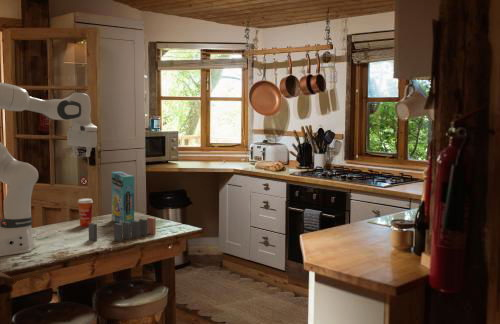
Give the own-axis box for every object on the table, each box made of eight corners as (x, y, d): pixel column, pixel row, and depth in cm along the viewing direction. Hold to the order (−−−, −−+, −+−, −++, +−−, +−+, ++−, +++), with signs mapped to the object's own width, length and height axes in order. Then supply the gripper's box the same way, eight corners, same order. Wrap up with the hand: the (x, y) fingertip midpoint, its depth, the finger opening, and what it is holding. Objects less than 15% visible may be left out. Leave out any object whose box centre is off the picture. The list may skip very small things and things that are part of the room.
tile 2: (119, 241, 260) (119, 225, 259) (114, 240, 263) (114, 223, 262) (122, 241, 262) (122, 224, 261) (117, 239, 264) (116, 223, 263)
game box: (111, 220, 306) (110, 171, 303) (122, 219, 310) (121, 171, 307) (123, 227, 289) (122, 176, 286) (134, 226, 292) (134, 175, 289)
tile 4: (136, 237, 268) (136, 221, 267) (131, 236, 271) (131, 220, 270) (139, 237, 269) (139, 221, 268) (133, 235, 272) (133, 219, 271)
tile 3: (128, 239, 264) (128, 223, 263) (122, 238, 267) (122, 221, 266) (131, 239, 265) (131, 222, 264) (125, 237, 268) (125, 221, 267)
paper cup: (75, 226, 290) (74, 200, 288) (84, 223, 297) (83, 197, 296) (87, 227, 287) (87, 201, 286) (96, 224, 294) (96, 199, 293)
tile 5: (145, 236, 272) (145, 220, 271) (139, 234, 274) (139, 218, 274) (147, 235, 273) (147, 219, 272) (142, 234, 276) (141, 218, 275)
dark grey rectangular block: (94, 241, 260) (93, 224, 259) (88, 239, 263) (88, 223, 262) (97, 240, 261) (96, 224, 260) (91, 239, 264) (91, 222, 263)
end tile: (153, 234, 275) (153, 218, 275) (147, 233, 278) (147, 217, 277) (155, 233, 277) (155, 218, 276) (149, 232, 280) (149, 216, 279)
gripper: (63, 126, 266) (63, 154, 267) (87, 127, 253) (88, 158, 254) (75, 125, 270) (75, 153, 272) (99, 127, 257) (99, 157, 259)
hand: (81, 155), depth 263 cm, fingers open, 8 cm apart
